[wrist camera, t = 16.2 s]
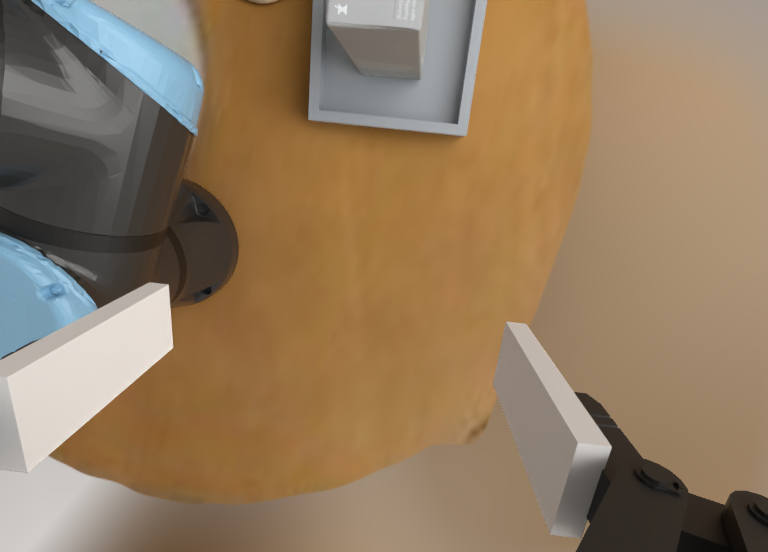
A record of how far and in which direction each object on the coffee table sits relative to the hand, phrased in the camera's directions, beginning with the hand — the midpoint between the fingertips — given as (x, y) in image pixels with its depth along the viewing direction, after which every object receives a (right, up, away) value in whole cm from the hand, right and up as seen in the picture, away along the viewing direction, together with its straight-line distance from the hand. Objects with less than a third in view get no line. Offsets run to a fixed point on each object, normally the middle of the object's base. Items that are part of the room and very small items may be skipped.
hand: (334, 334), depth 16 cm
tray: (+3, +27, +25) cm, 36 cm away
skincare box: (+3, +27, +24) cm, 36 cm away
